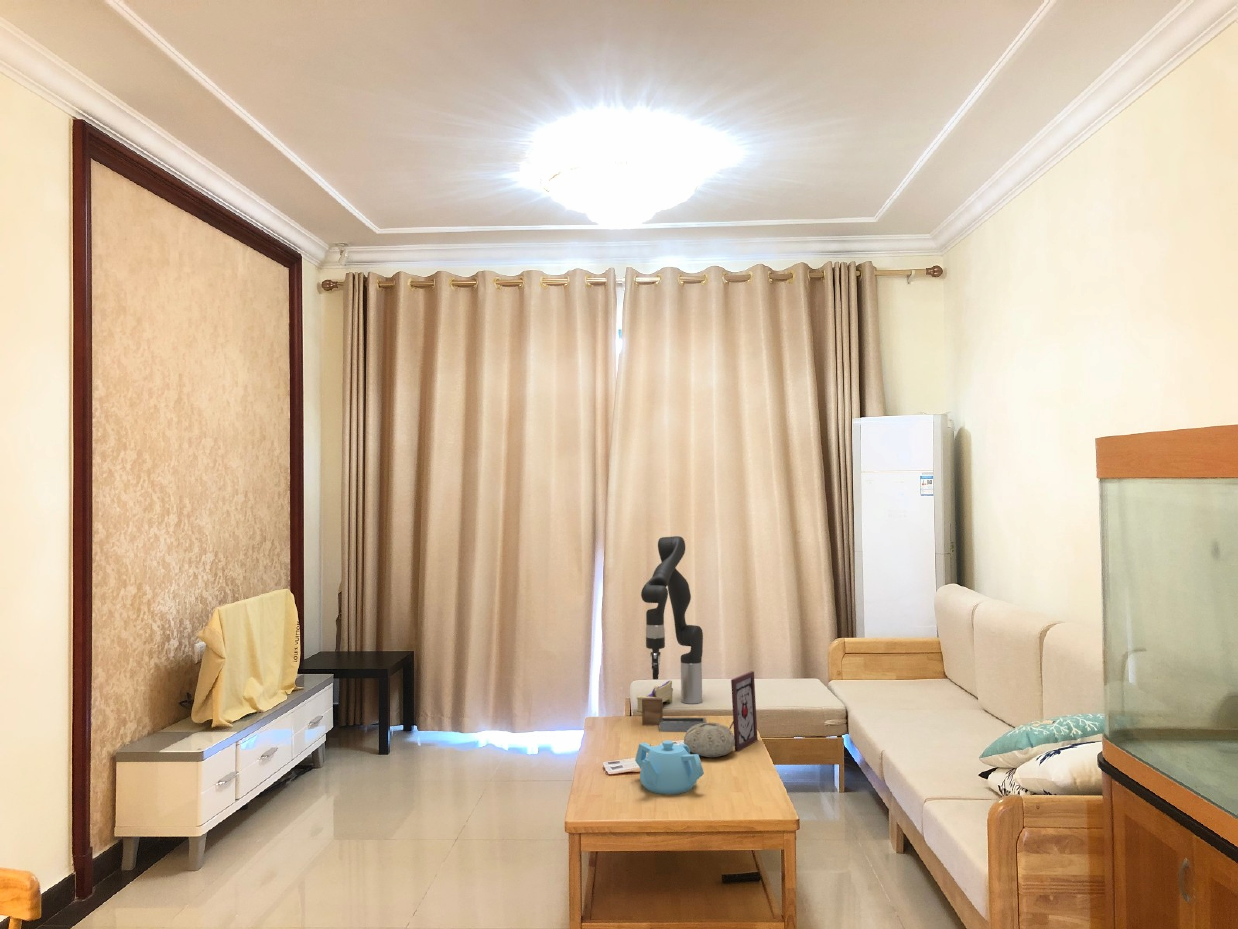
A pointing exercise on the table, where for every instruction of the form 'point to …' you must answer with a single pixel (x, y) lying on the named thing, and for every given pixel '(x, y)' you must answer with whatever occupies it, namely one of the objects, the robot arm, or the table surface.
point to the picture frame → (744, 710)
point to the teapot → (668, 767)
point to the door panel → (651, 711)
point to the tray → (679, 724)
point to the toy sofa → (658, 694)
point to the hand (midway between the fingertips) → (655, 677)
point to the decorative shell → (709, 739)
